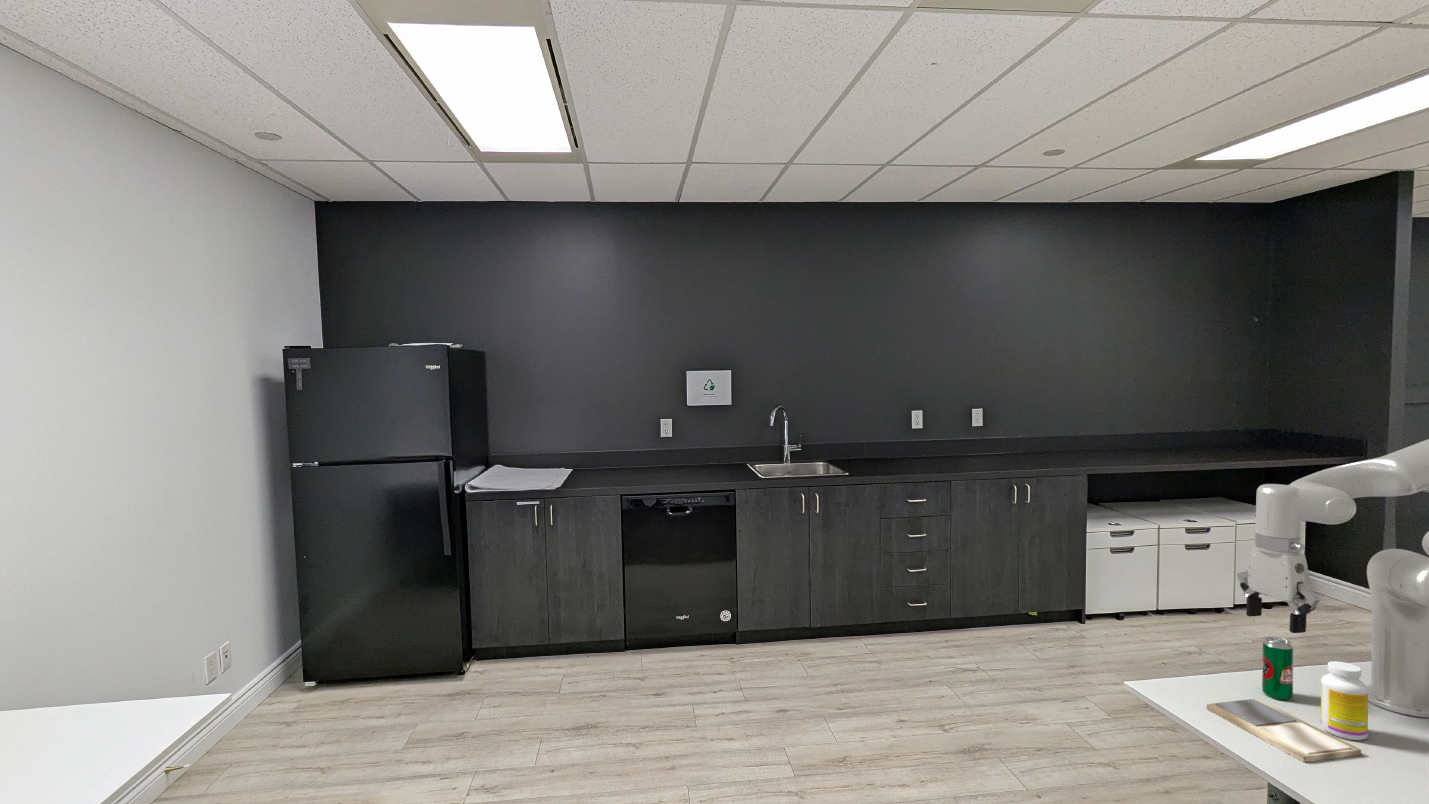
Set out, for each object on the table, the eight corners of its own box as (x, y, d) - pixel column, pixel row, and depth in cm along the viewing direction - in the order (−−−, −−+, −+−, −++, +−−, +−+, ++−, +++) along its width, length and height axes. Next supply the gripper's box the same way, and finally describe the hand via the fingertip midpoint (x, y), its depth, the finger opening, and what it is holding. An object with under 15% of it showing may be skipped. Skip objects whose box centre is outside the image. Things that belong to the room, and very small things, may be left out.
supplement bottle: (1376, 743, 128) (1377, 674, 127) (1335, 740, 129) (1336, 672, 129) (1351, 725, 135) (1352, 659, 134) (1312, 722, 136) (1312, 657, 135)
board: (1257, 703, 144) (1257, 697, 144) (1360, 755, 124) (1361, 747, 124) (1206, 708, 142) (1206, 702, 142) (1303, 762, 122) (1303, 755, 122)
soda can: (1286, 703, 144) (1286, 646, 143) (1257, 694, 148) (1257, 638, 148) (1297, 697, 146) (1298, 641, 146) (1268, 688, 150) (1269, 633, 150)
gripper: (1335, 553, 138) (1332, 638, 139) (1255, 533, 155) (1252, 609, 156) (1303, 555, 137) (1300, 640, 137) (1225, 534, 154) (1223, 610, 155)
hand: (1275, 623), depth 147 cm, fingers open, 9 cm apart
